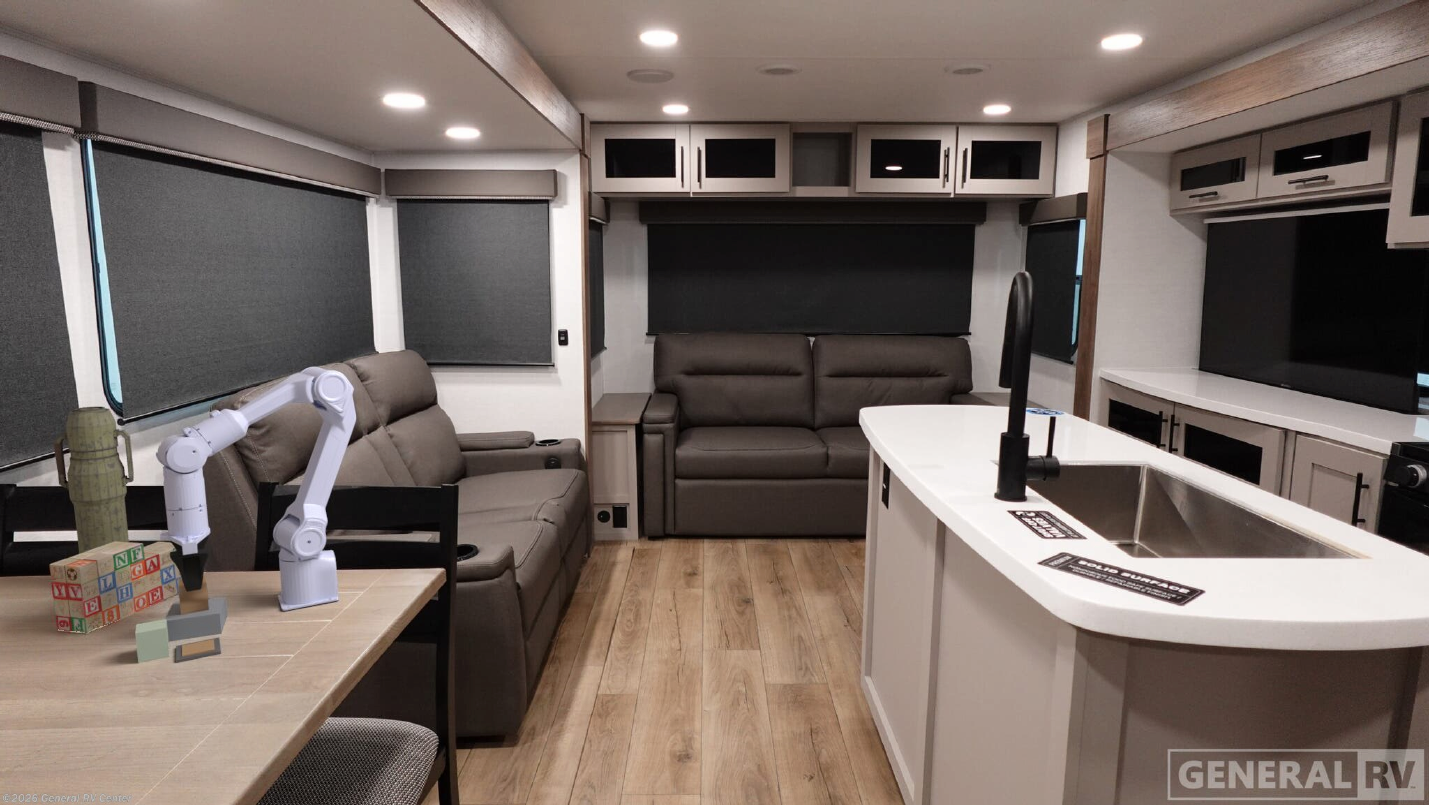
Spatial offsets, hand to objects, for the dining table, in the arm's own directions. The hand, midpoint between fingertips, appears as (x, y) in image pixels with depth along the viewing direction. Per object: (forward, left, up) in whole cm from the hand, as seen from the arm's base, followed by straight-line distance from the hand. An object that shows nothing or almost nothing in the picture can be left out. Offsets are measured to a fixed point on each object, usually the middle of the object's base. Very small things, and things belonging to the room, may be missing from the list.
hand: (193, 582), depth 137 cm
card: (0, +10, -8) cm, 13 cm away
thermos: (+15, -34, -9) cm, 38 cm away
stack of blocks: (+11, -17, -9) cm, 22 cm away
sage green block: (+6, +8, -8) cm, 13 cm away
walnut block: (0, 0, -5) cm, 5 cm away
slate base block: (0, 0, -9) cm, 9 cm away
